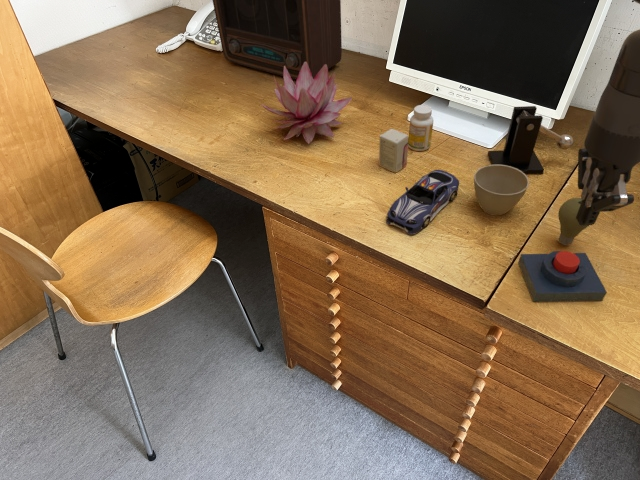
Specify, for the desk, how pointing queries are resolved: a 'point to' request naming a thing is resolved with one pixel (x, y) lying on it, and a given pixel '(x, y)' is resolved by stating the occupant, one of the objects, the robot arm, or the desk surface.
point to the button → (566, 262)
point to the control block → (560, 279)
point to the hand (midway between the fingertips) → (584, 222)
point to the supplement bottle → (420, 128)
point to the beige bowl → (499, 188)
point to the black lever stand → (520, 143)
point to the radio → (280, 34)
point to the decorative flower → (309, 103)
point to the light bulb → (569, 221)
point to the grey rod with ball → (553, 134)
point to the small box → (393, 150)
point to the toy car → (431, 192)
